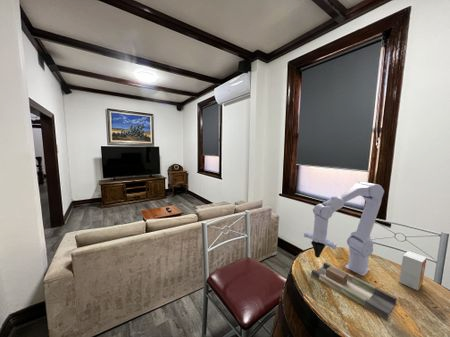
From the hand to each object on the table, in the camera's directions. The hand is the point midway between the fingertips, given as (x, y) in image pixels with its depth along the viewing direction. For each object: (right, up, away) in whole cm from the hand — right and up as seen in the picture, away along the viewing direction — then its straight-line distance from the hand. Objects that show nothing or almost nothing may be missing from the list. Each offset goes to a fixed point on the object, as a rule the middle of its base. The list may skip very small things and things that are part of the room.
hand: (317, 256), depth 89 cm
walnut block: (+5, -7, -7) cm, 11 cm away
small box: (+40, -10, -6) cm, 41 cm away
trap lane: (+8, -8, -11) cm, 16 cm away
